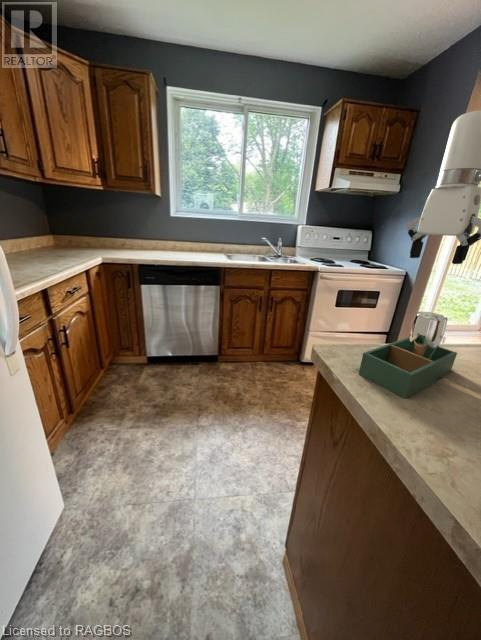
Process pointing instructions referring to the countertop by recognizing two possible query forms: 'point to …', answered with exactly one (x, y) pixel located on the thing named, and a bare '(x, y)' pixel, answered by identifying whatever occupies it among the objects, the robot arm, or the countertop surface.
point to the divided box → (404, 367)
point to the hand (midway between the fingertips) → (434, 260)
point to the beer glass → (427, 333)
